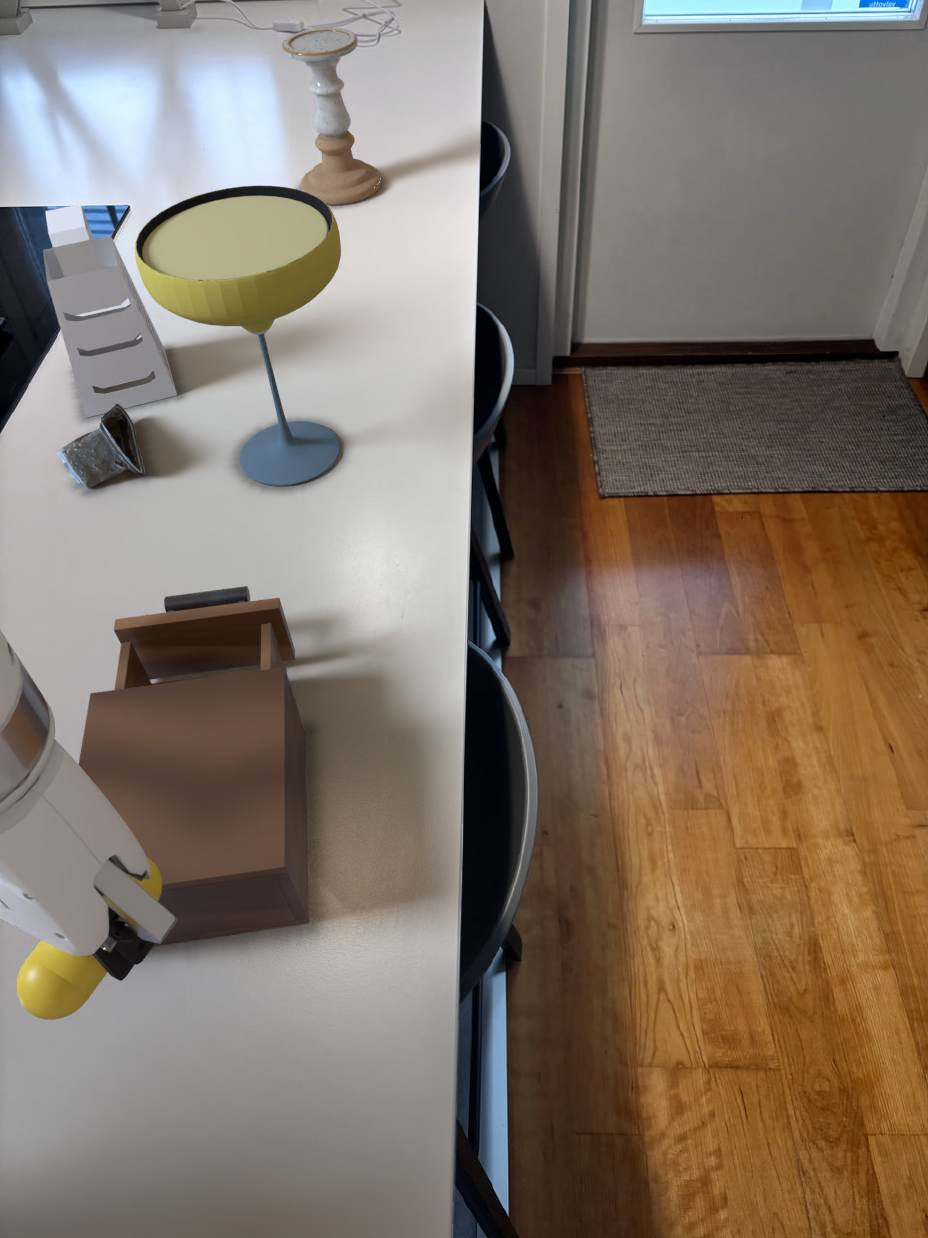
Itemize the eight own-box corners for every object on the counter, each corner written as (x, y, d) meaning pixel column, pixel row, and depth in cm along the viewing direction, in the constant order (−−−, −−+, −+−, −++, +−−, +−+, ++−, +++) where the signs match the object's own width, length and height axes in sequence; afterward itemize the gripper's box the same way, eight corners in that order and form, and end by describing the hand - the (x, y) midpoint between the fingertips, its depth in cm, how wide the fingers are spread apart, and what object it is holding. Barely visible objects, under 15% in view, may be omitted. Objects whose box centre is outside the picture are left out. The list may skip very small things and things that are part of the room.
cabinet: (127, 756, 77) (90, 692, 71) (305, 731, 78) (284, 666, 72) (101, 954, 66) (55, 900, 60) (309, 923, 67) (285, 867, 61)
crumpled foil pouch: (70, 434, 108) (22, 421, 96) (124, 404, 107) (83, 387, 96) (113, 508, 108) (70, 504, 96) (166, 479, 108) (130, 471, 96)
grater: (164, 349, 118) (110, 187, 103) (177, 395, 111) (121, 229, 96) (78, 369, 116) (11, 208, 101) (86, 417, 109) (15, 252, 94)
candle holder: (332, 213, 139) (308, 62, 124) (286, 188, 146) (257, 42, 131) (398, 185, 144) (382, 37, 129) (350, 162, 151) (329, 18, 136)
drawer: (145, 636, 85) (120, 583, 80) (294, 616, 85) (279, 563, 80) (121, 829, 72) (89, 781, 67) (297, 804, 73) (279, 754, 67)
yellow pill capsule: (57, 1036, 47) (67, 1033, 45) (-4, 996, 47) (3, 991, 44) (167, 883, 53) (183, 872, 50) (113, 845, 52) (127, 832, 49)
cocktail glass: (366, 393, 109) (330, 173, 90) (381, 495, 97) (343, 265, 78) (208, 416, 108) (139, 197, 89) (203, 521, 96) (123, 295, 77)
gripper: (-291, 737, 36) (-65, 935, 50) (36, 907, 31) (189, 1077, 45) (-134, 603, 41) (35, 819, 54) (176, 731, 35) (277, 936, 49)
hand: (103, 934), depth 49 cm, fingers closed on yellow pill capsule, 3 cm apart
